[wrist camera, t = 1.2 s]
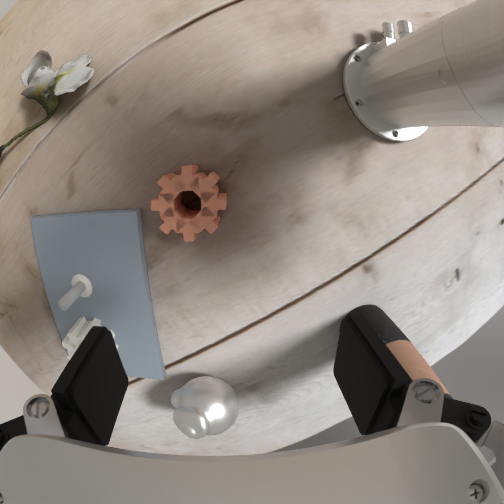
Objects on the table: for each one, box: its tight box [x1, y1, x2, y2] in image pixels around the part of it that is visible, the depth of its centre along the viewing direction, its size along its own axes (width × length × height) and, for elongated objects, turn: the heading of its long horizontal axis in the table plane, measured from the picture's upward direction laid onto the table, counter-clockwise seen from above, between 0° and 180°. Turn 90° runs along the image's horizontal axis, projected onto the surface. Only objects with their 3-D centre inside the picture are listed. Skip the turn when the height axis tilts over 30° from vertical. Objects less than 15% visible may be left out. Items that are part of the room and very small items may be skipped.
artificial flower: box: [0, 50, 95, 171], centre depth 20 cm, size 9×22×10 cm, turn 113°
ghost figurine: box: [171, 376, 239, 439], centre depth 33 cm, size 9×10×10 cm
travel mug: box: [340, 305, 453, 399], centre depth 26 cm, size 8×8×20 cm
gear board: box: [30, 209, 166, 380], centre depth 29 cm, size 24×16×6 cm, turn 179°
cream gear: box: [62, 316, 119, 360], centre depth 30 cm, size 7×7×4 cm
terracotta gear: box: [151, 165, 227, 242], centre depth 27 cm, size 7×7×4 cm
